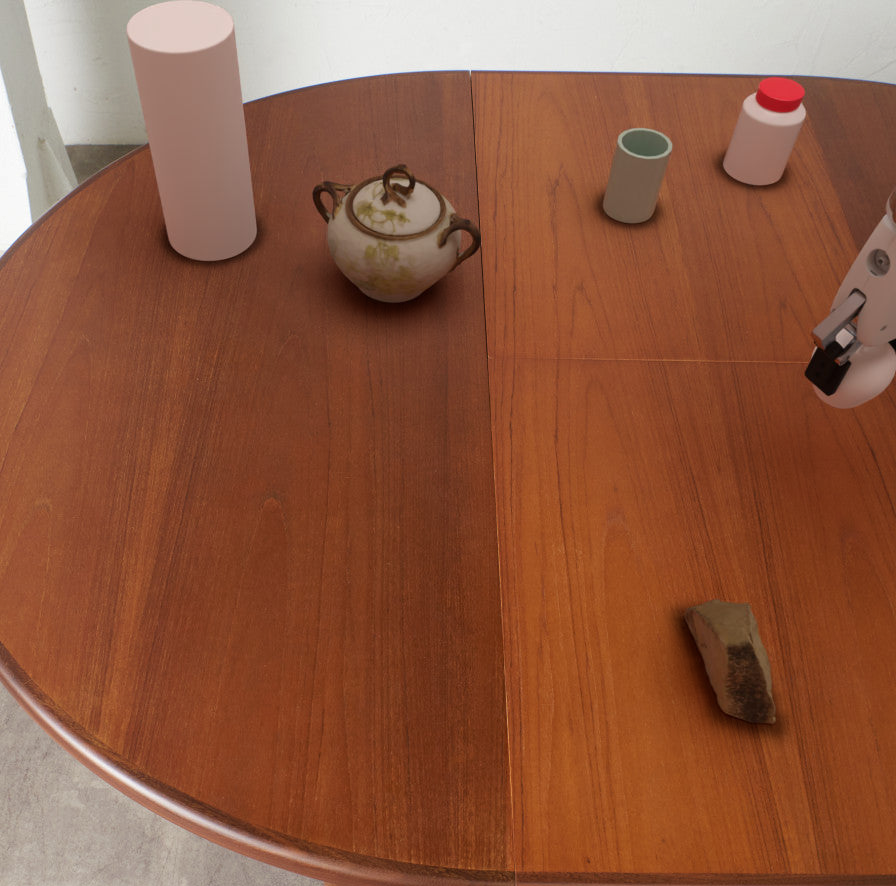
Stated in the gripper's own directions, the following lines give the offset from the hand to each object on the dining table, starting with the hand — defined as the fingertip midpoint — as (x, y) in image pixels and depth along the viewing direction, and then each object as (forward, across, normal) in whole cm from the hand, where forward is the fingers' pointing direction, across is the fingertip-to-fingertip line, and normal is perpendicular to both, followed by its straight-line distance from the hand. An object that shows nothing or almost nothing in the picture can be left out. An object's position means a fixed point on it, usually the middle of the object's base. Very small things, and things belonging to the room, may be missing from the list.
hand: (851, 368), depth 84 cm
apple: (+3, 0, 0) cm, 3 cm away
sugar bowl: (+12, -23, +43) cm, 50 cm away
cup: (+13, +10, +41) cm, 44 cm away
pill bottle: (+13, +30, +40) cm, 52 cm away
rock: (+12, -23, -14) cm, 29 cm away
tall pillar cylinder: (+12, -38, +61) cm, 73 cm away
